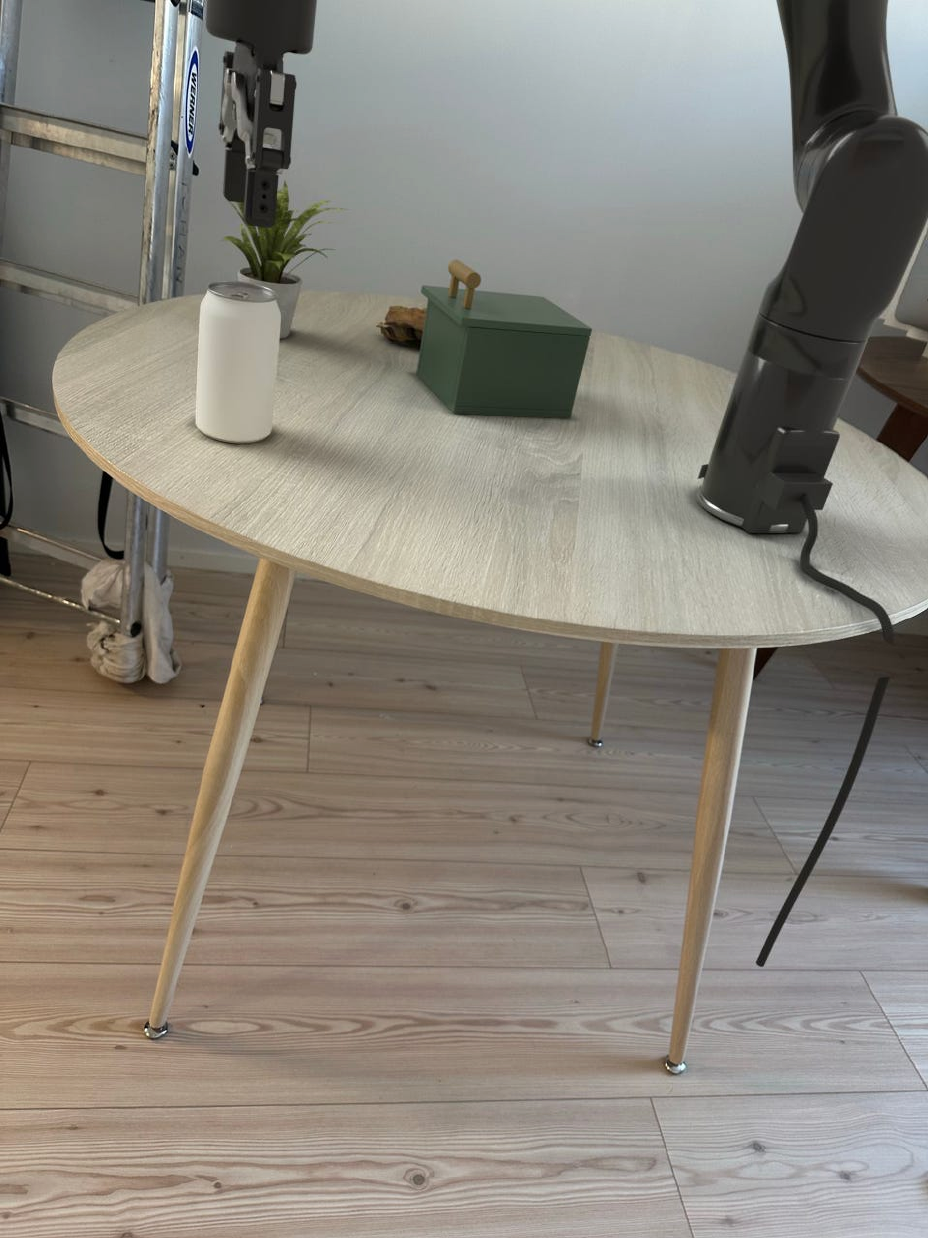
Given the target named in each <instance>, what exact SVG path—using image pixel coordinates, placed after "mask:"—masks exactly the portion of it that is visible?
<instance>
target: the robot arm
mask: <svg viewBox="0 0 928 1238" xmlns="http://www.w3.org/2000/svg"><path fill="white" fill-rule="evenodd" d="M775 2H776V6H777V12H778V16H779V22H780V26H781V31H782V36H783V39H784V45H785V51H786V57H787V64H788V65H787V66H788V76H789V89H790V91H789V93H790V115H791V116H790V117H791V140H792V141H791V147H792V148H791V149H792V179H793V181H792V183H793V190H794V195H795V199H796V202H797V205H798V207H799V209H800V211H801V214H802V217H801V219H800V222H799V225H798V228H797V229H796V233H795V235H794V238H793V242H792V244H791V246H790V249H789V252H788V255H787V257H786V260H785V262H784V263H783V265H782V267H781V269H780V270H779V271H778V273H777V274H776V275H775V276H773V277H772V278H770V280H769V281H768V283H767V285H766V287H765V289H764V292H763V296H762V298H761V302H760V305H759V308H758V312H757V314H756V317H755V319H754V323H753V327H752V330H751V332H750V334H749V339H748V342H747V344H746V347H745V350H744V353H743V355H742V360H741V362H740V366H739V368H738V372H737V374H736V377H735V381H734V384H733V388H732V390H731V393H730V396H729V399H728V401H727V404H726V407H725V410H724V413H723V417H722V420H721V423H720V426H719V430H718V432H717V436H716V438H715V442H714V445H713V447H712V451H711V453H710V457H709V461H708V463H707V464H706V463H705V464H701V467H700V469H699V474H698V476H697V479H699V480H700V479H702V481H701V484H700V486H699V487H698V490H697V494H696V500H697V502H698V503H699V505H700V506H701V507H702V508H704V510H706V511H707V512H709V513H710V514H712V515H713V516H715V517H717V518H718V519H720V520H722V521H724V522H727V523H730V524H732V525H734V526H737V527H740V528H742V529H743V530H744V531H746V532H747V533H750V534H776V533H777V534H782V533H784V534H785V533H787V534H788V533H803V532H804V529H805V527H806V524H807V523H808V525H807V526H808V531H807V536H806V540H805V541H804V543H803V546H802V548H801V551H800V558H799V559H800V561H799V565H800V569H801V570H802V571H803V572H804V573H805V574H806V575H807V576H808V577H809V578H810V579H812V580H814V581H815V582H817V583H819V584H821V585H823V586H825V587H828V588H830V589H832V590H834V591H837V592H839V593H840V594H842V595H844V596H845V597H847V598H849V599H850V600H852V601H853V602H855V603H857V604H859V605H860V606H862V607H864V608H866V609H867V610H869V611H871V612H872V614H874V615H875V617H877V620H878V622H879V624H880V628H881V630H882V631H881V632H882V635H883V640H884V641H885V642H886V643H887V644H889V645H893V646H895V645H896V636H895V635H896V634H895V631H894V626H893V623H892V620H891V618H890V616H889V614H888V613H887V611H886V609H885V608H884V607H883V606H882V605H881V604H880V603H879V602H877V601H876V600H874V599H872V598H871V597H868V596H867V595H865V594H863V593H861V592H859V591H858V590H856V589H854V588H853V587H851V586H850V585H848V584H846V583H844V582H842V581H841V580H838V579H835V578H834V577H831V576H828V575H826V574H824V573H823V572H821V571H819V570H818V569H817V568H816V567H814V566H813V565H812V564H811V562H810V561H811V553H812V550H813V548H814V545H815V543H816V540H817V538H818V532H819V522H818V517H817V516H818V515H817V513H816V511H823V510H824V507H825V505H826V502H827V500H828V497H829V495H830V492H831V490H832V487H833V484H834V483H833V482H832V481H830V480H829V479H827V478H825V476H826V474H827V471H828V468H829V466H830V463H831V461H832V458H833V456H834V453H835V451H836V449H837V446H838V443H839V440H840V438H841V435H840V432H839V431H837V430H836V429H835V426H836V423H837V421H838V418H839V416H840V413H841V410H842V408H843V405H844V403H845V400H846V397H847V396H848V392H849V390H850V387H851V384H852V383H853V379H854V377H855V375H856V372H857V370H858V367H859V364H860V362H861V359H862V357H863V354H864V351H865V350H866V349H865V348H866V346H867V344H868V340H869V338H870V337H871V333H872V331H873V329H874V326H876V325H875V324H876V323H877V321H878V320H879V319H880V317H881V316H882V315H883V314H884V313H885V311H886V310H887V309H888V307H889V306H890V304H892V301H893V299H894V298H895V296H896V294H897V292H898V289H899V288H900V285H901V282H902V280H903V278H904V276H905V274H906V271H907V269H908V267H909V264H910V263H911V260H912V257H913V255H914V253H915V251H916V248H917V246H918V244H919V242H920V240H921V237H922V235H923V232H924V230H925V228H926V225H927V222H928V130H926V129H925V128H924V127H923V126H921V125H920V124H918V123H917V122H915V121H913V120H911V119H909V118H906V117H903V116H900V115H899V112H898V109H897V108H898V107H897V104H896V99H895V93H894V87H893V80H892V73H891V65H890V58H889V51H888V40H887V39H888V38H887V37H888V36H887V33H888V32H887V18H888V6H889V0H775ZM317 4H318V0H206V10H205V11H206V12H205V28H206V31H207V33H208V34H209V35H210V36H213V37H215V38H218V39H222V40H225V41H229V42H233V43H235V47H234V51H229V50H225V51H224V55H223V56H222V63H223V67H222V68H223V70H222V81H221V82H222V83H221V97H220V113H219V122H218V125H217V127H218V130H219V135H220V136H221V142H222V145H223V146H222V147H223V148H224V149H225V150H224V151H225V153H224V167H223V182H222V195H223V197H224V198H225V200H226V201H230V202H231V203H236V202H240V203H244V215H243V216H242V217H243V218H244V220H245V222H246V223H247V224H248V225H250V226H255V227H256V228H257V227H265V228H271V227H272V226H273V225H274V223H275V214H276V202H277V192H278V191H279V178H280V177H279V175H282V174H283V171H284V170H287V171H288V170H289V168H290V165H291V164H292V163H291V162H292V158H291V151H292V141H293V139H292V138H293V125H294V113H295V99H296V98H295V97H296V89H297V85H298V84H297V80H296V78H297V77H296V74H292V73H287V72H284V60H283V59H284V56H285V54H287V53H291V54H294V55H308V54H310V53H311V52H312V50H313V48H314V47H313V45H314V35H315V26H316V15H317ZM264 144H266V145H269V146H270V147H271V148H270V147H264ZM890 679H891V676H882V677H878V678H877V681H876V684H875V687H874V690H873V692H872V696H871V698H870V702H869V706H868V709H867V712H866V715H865V719H864V722H863V726H862V728H861V731H860V734H859V737H858V741H857V742H856V743H857V744H856V746H855V749H854V752H853V755H852V758H851V761H850V764H849V765H848V768H847V771H846V774H845V776H844V779H843V781H842V784H841V787H840V788H839V791H838V794H837V796H836V798H835V801H834V803H833V805H832V807H831V810H830V812H829V814H828V816H827V818H826V820H825V821H824V822H825V823H824V824H823V827H822V829H821V831H820V833H819V835H818V836H817V839H816V841H815V843H814V845H813V847H812V849H811V851H810V853H809V855H808V856H807V859H806V861H805V862H804V864H803V866H802V868H801V870H800V872H799V873H798V876H797V878H796V880H795V881H794V883H793V886H792V888H791V890H790V891H789V893H788V895H787V897H786V899H785V900H784V903H783V904H782V906H781V908H780V911H779V912H778V915H777V916H776V918H775V920H774V922H773V924H772V927H771V928H770V931H769V932H768V935H767V937H766V939H765V941H764V943H763V946H762V947H761V950H760V952H759V954H758V956H757V959H756V961H755V965H756V966H758V967H760V968H763V967H765V964H766V962H767V961H768V958H769V956H770V953H771V952H772V949H773V947H774V945H775V943H776V941H777V939H778V937H779V935H780V933H781V931H782V929H783V927H784V925H785V923H786V921H787V919H788V917H789V915H790V914H791V912H792V909H793V907H794V905H795V904H796V902H797V900H798V899H799V896H800V894H801V892H802V890H803V889H804V887H805V884H806V883H807V881H808V879H809V878H810V875H811V874H812V871H813V870H814V868H815V866H816V864H817V862H818V860H819V859H820V857H821V855H822V853H823V851H824V849H825V847H826V845H827V843H828V841H829V839H830V837H831V835H832V833H833V831H834V828H835V826H836V824H837V823H838V820H839V818H840V816H841V814H842V812H843V809H844V807H845V806H846V803H847V800H848V798H849V795H850V793H851V792H852V789H853V787H854V785H855V782H856V779H857V775H858V773H859V771H860V768H861V765H862V763H863V761H864V759H865V755H866V752H867V749H868V747H869V743H870V741H871V737H872V734H873V732H874V728H875V725H876V722H877V719H878V716H879V713H880V710H881V706H882V702H883V699H884V696H885V693H886V690H887V688H888V684H889V682H890Z"/></svg>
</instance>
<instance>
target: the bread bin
mask: <svg viewBox="0 0 928 1238" xmlns="http://www.w3.org/2000/svg"><path fill="white" fill-rule="evenodd" d="M426 308H427V309H426V315H425V322H424V328H423V334H422V340H420V341H421V342H420V347H419V354H418V360H417V366H416V372H415V375H416V377H418V378H419V380H421V381H422V383H423V384H424V385H425V386H426V387H427V388H428V389H429V390H430V391H431V392H432V393H433V394H434V395H435V396H436V397H437V398H438V399H439V400H440V402H442V403H443V405H444V406H445V407H447V409H448V410H449V411H450V412H451V413H452V414H453V415H477V416H498V417H499V416H501V417H505V416H506V417H525V418H526V417H527V418H547V419H548V418H549V419H550V418H551V419H552V418H553V419H571V417H572V411H573V408H574V405H575V401H576V397H577V393H578V389H579V383H580V379H581V377H582V372H583V367H584V363H585V359H586V356H587V352H588V347H589V344H590V343H589V342H590V339H591V336H581V335H568V334H555V333H543V332H530V331H518V330H505V329H493V328H480V327H468V326H460V325H459V324H458V323H457V322H456V321H454V320H453V319H452V318H451V317H450V316H448V315H447V314H446V313H445V312H444V311H442V310H441V309H440V308H439V307H438V306H436V305H435V304H434V303H433V302H432V301H430V300H429V299H428V298H427V303H426Z"/></svg>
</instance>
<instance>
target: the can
mask: <svg viewBox="0 0 928 1238" xmlns="http://www.w3.org/2000/svg"><path fill="white" fill-rule="evenodd" d="M206 289H207V291H206V293H205V295H204V297H203V299H202V301H201V303H200V307H199V308H200V309H199V325H198V346H197V347H198V348H197V370H196V393H195V426H196V428H198V430H199V431H200V432H201V434H203V435H204V436H206V437H208V438H209V439H212V440H215V441H219V442H223V443H229V444H240V445H241V444H243V445H244V444H254V443H258V442H262V441H264V440H265V439H266V438H267V437H268V436H269V435H271V433H272V429H273V419H274V411H275V397H276V387H277V375H278V362H279V361H278V360H279V352H280V351H279V350H280V339H281V338H280V325H281V313H280V310H279V307H278V305H277V301H276V299H277V297H278V295H277V293H276V292H275V291H273V290H271V289H269V288H266V287H264V286H260V285H256V284H252V283H247V282H240V281H238V280H215V281H211V282H208V283H207V284H206Z"/></svg>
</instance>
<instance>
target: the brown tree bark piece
mask: <svg viewBox="0 0 928 1238" xmlns="http://www.w3.org/2000/svg"><path fill="white" fill-rule="evenodd" d="M388 309H389V310H388V311H387V313H386V314H385V317H384V322H382V321H380V322H379V323H378V324H377V325H375V327H376V328H379V329H380V333H381V334H382V335H383V336H384V337H385V338H386V339H387V340H390V339H391V340H392V341H398V342H404V341H407V340H410V341H421V340H422V334H423V328H424V322H425V315H426V309H427V307H424V308H418V307H407V306H403V305H390V306H389V307H388Z"/></svg>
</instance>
